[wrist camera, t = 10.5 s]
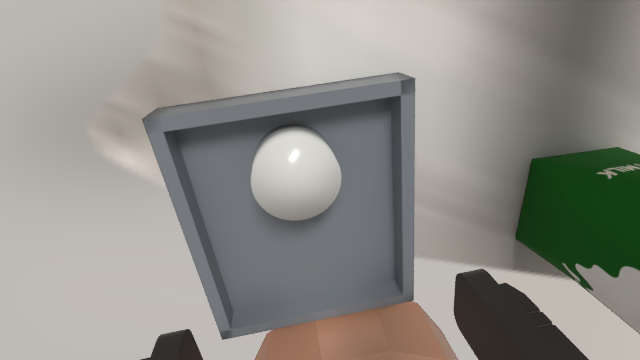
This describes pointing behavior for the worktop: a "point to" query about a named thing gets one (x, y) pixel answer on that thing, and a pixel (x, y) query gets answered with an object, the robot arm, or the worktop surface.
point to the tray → (303, 235)
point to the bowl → (361, 337)
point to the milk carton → (589, 223)
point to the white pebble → (294, 173)
